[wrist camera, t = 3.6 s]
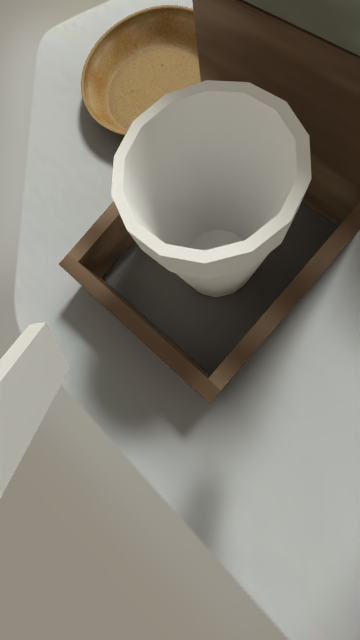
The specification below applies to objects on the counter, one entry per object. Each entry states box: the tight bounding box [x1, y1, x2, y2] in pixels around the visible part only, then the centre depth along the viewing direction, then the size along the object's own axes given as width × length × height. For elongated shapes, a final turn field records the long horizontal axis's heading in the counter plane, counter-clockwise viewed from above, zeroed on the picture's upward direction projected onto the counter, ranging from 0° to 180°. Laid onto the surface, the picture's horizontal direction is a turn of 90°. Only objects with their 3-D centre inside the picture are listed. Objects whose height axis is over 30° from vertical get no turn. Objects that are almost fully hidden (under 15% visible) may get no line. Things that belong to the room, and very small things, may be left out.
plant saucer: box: [81, 5, 201, 135], centre depth 29 cm, size 15×15×3 cm
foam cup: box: [111, 80, 312, 297], centre depth 20 cm, size 10×9×13 cm
